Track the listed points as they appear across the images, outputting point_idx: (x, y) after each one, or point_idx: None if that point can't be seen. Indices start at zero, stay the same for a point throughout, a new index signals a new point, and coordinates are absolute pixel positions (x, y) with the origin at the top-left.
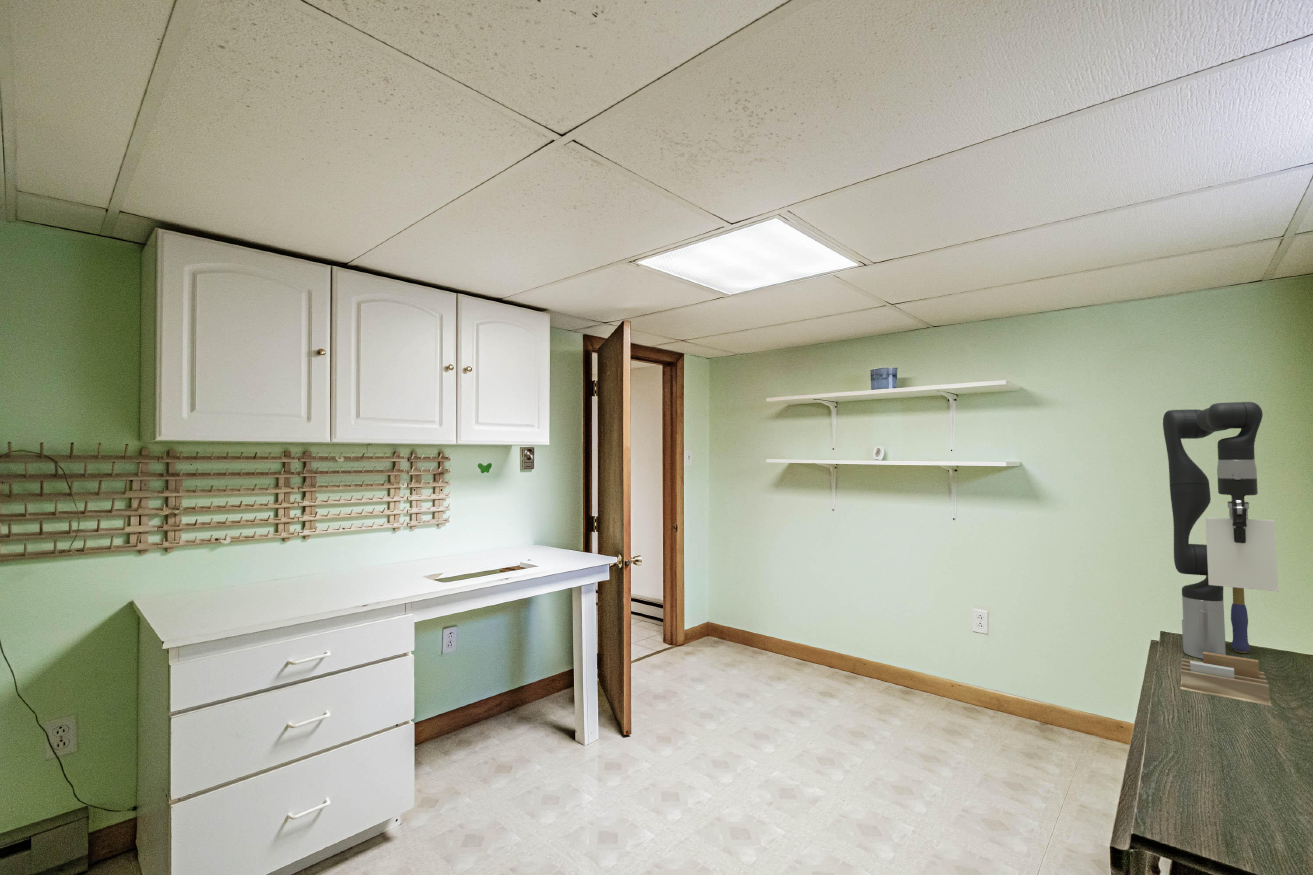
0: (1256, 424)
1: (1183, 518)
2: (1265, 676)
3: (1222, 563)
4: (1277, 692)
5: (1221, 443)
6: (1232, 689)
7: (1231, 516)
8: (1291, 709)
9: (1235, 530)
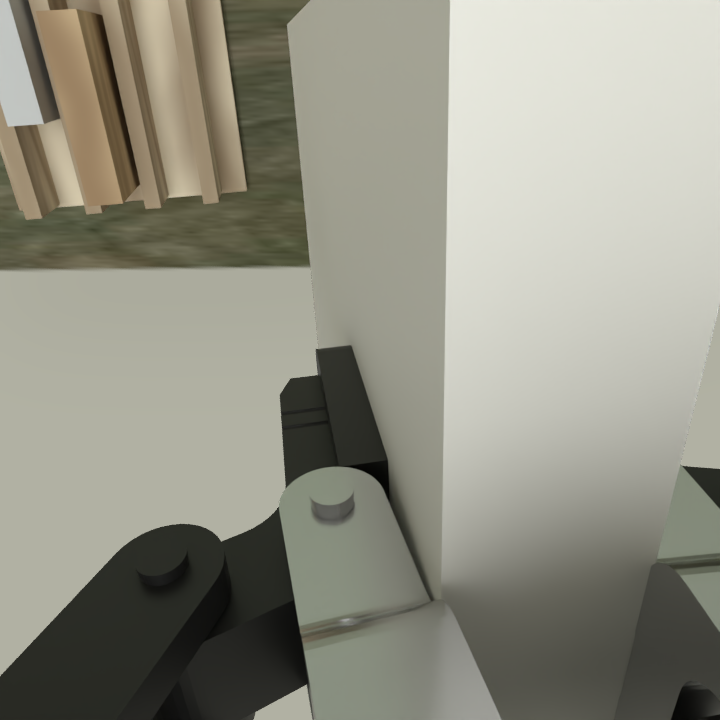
0: None
1: None
2: (159, 207)
3: (310, 148)
4: (264, 214)
5: None
6: None
7: (320, 707)
8: (101, 247)
9: (338, 463)
